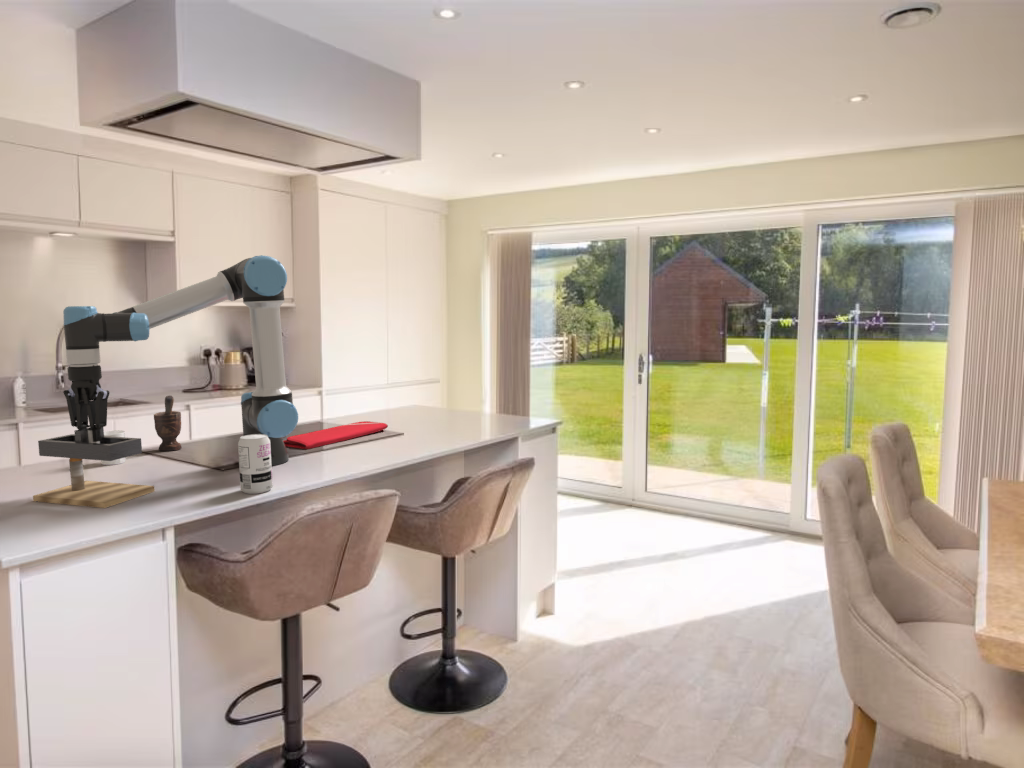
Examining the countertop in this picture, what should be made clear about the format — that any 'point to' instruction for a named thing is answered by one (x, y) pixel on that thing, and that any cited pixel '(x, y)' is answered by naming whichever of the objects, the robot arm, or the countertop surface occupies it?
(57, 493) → the board
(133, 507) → the countertop surface
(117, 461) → the white cup
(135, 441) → the dark grey tray
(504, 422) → the countertop surface
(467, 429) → the countertop surface
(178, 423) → the mortar and pestle
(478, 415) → the countertop surface
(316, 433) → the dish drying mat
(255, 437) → the supplement can
